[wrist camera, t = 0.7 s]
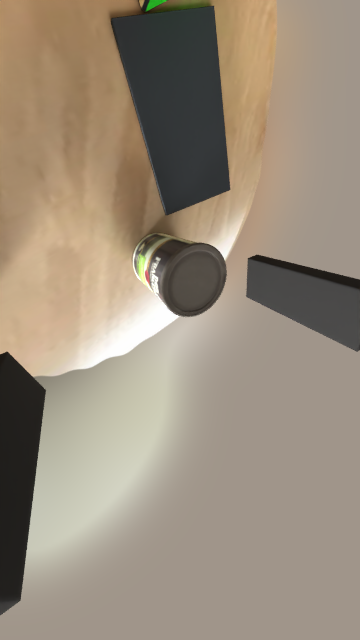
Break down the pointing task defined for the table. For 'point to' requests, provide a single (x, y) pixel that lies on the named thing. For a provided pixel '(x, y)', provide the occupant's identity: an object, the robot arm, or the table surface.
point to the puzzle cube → (150, 4)
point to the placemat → (177, 100)
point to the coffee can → (180, 272)
